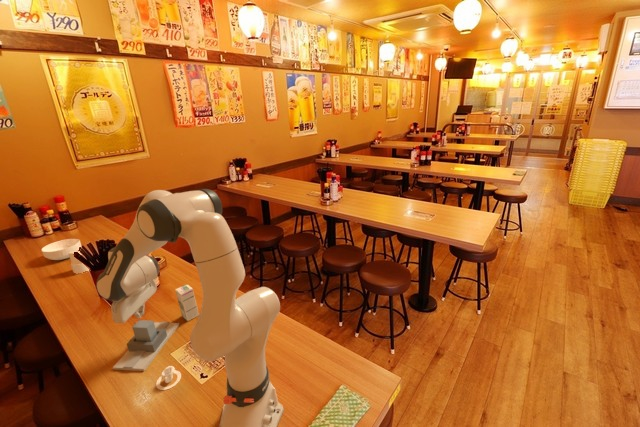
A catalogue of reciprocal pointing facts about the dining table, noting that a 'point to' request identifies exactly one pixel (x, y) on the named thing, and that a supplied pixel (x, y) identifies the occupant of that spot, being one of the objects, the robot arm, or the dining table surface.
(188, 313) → the syrup box
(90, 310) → the dining table surface
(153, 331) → the block
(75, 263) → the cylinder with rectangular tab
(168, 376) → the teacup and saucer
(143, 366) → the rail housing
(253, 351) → the robot arm
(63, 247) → the bowl
